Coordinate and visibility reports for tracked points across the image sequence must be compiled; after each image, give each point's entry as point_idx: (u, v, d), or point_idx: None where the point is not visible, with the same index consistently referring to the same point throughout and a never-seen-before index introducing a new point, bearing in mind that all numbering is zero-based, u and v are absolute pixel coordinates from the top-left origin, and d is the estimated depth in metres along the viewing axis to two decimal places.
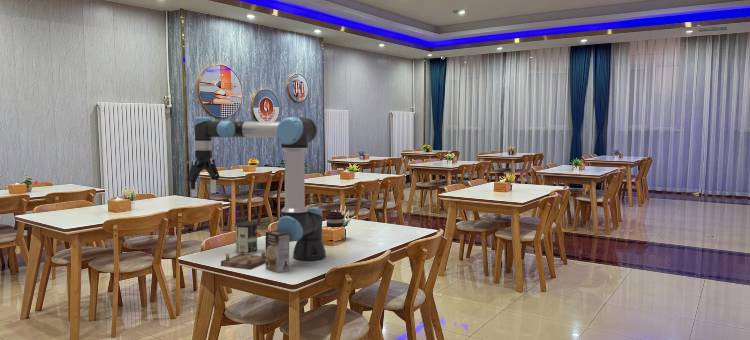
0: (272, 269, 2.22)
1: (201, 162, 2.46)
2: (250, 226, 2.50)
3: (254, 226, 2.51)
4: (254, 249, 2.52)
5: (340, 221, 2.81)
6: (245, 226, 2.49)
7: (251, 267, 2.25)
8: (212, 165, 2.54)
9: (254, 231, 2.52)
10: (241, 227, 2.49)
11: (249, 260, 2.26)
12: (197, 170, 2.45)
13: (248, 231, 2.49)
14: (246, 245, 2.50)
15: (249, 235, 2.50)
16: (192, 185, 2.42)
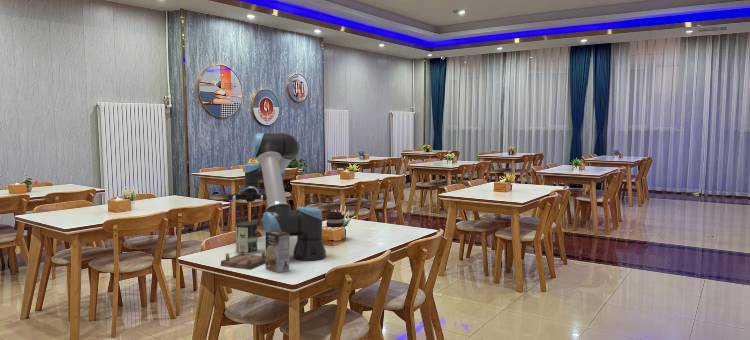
0: (272, 269, 2.22)
1: None
2: (250, 226, 2.50)
3: (254, 226, 2.51)
4: (254, 249, 2.52)
5: (340, 221, 2.81)
6: (245, 226, 2.49)
7: (251, 267, 2.25)
8: (261, 195, 2.76)
9: (254, 231, 2.52)
10: (241, 227, 2.49)
11: (249, 260, 2.26)
12: None
13: (248, 231, 2.49)
14: (246, 245, 2.50)
15: (249, 235, 2.50)
16: (231, 197, 2.66)
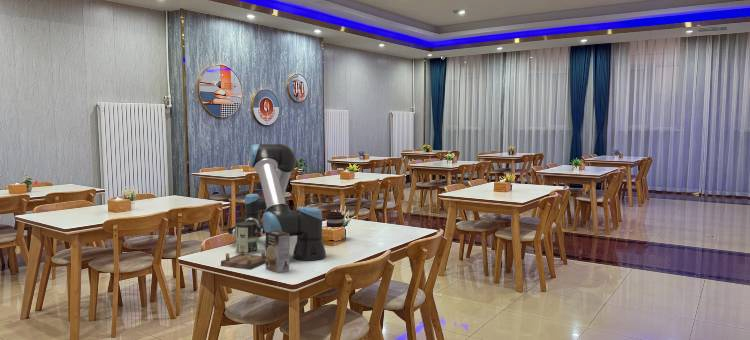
0: (272, 269, 2.22)
1: None
2: (250, 226, 2.50)
3: (254, 226, 2.51)
4: (254, 249, 2.52)
5: (340, 221, 2.81)
6: (245, 226, 2.49)
7: (251, 267, 2.25)
8: (261, 227, 2.76)
9: (254, 231, 2.52)
10: (241, 227, 2.49)
11: (249, 260, 2.26)
12: None
13: (248, 231, 2.49)
14: (246, 245, 2.50)
15: (249, 235, 2.50)
16: (231, 231, 2.66)
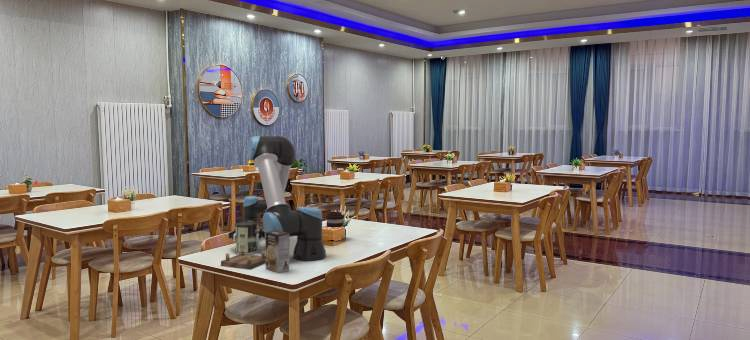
0: (272, 269, 2.22)
1: None
2: (250, 226, 2.50)
3: (254, 226, 2.51)
4: (254, 249, 2.52)
5: (340, 221, 2.81)
6: (245, 226, 2.49)
7: (251, 267, 2.25)
8: None
9: (254, 231, 2.52)
10: (241, 227, 2.49)
11: (249, 260, 2.26)
12: None
13: (248, 231, 2.49)
14: (246, 245, 2.50)
15: (249, 235, 2.50)
16: (231, 235, 2.54)
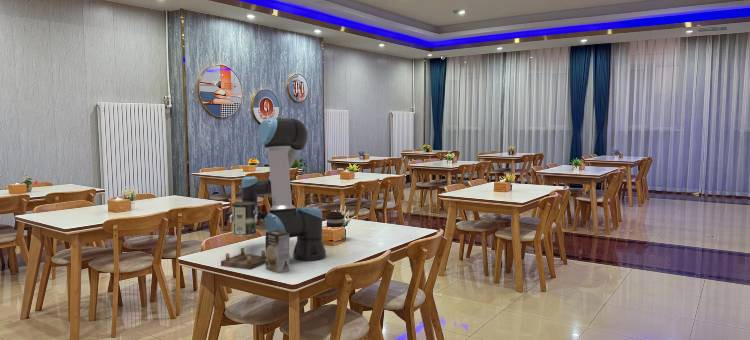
0: (272, 269, 2.22)
1: None
2: (248, 206, 2.30)
3: (252, 206, 2.32)
4: (253, 231, 2.33)
5: (340, 221, 2.81)
6: (242, 206, 2.29)
7: (251, 267, 2.25)
8: None
9: (252, 212, 2.32)
10: (238, 207, 2.29)
11: (249, 260, 2.26)
12: None
13: (245, 211, 2.30)
14: (243, 226, 2.30)
15: (247, 215, 2.30)
16: (228, 216, 2.34)
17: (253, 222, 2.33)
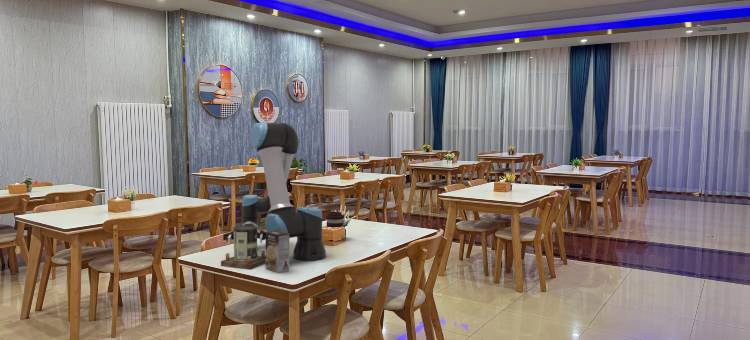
0: (272, 269, 2.22)
1: None
2: (249, 231, 2.28)
3: (254, 231, 2.30)
4: (254, 255, 2.31)
5: (340, 221, 2.81)
6: (244, 231, 2.28)
7: (251, 267, 2.25)
8: (260, 233, 2.44)
9: (254, 236, 2.31)
10: (240, 232, 2.28)
11: (249, 260, 2.26)
12: None
13: (247, 236, 2.28)
14: (245, 251, 2.28)
15: (248, 240, 2.29)
16: None
17: (255, 247, 2.31)
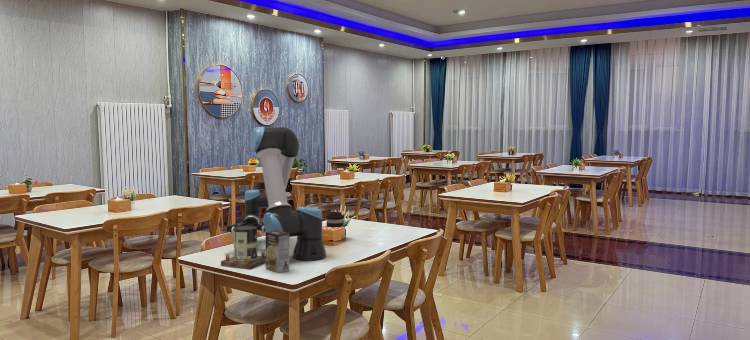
0: (272, 269, 2.22)
1: None
2: (249, 231, 2.28)
3: (254, 231, 2.30)
4: (254, 255, 2.31)
5: (340, 221, 2.81)
6: (244, 231, 2.28)
7: (251, 267, 2.25)
8: (262, 225, 2.57)
9: (254, 236, 2.31)
10: (239, 232, 2.28)
11: (249, 260, 2.26)
12: None
13: (247, 236, 2.28)
14: (245, 251, 2.28)
15: (248, 240, 2.29)
16: (230, 229, 2.47)
17: (255, 247, 2.31)
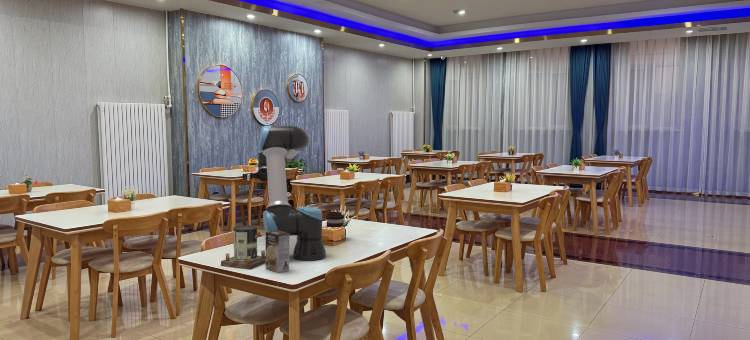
0: (272, 269, 2.22)
1: None
2: (249, 231, 2.28)
3: (254, 231, 2.30)
4: (254, 255, 2.31)
5: (340, 221, 2.81)
6: (244, 231, 2.28)
7: (251, 267, 2.25)
8: None
9: (254, 236, 2.31)
10: (240, 232, 2.28)
11: (249, 260, 2.26)
12: None
13: (247, 236, 2.28)
14: (245, 251, 2.28)
15: (248, 240, 2.29)
16: (245, 176, 2.66)
17: (255, 247, 2.31)
